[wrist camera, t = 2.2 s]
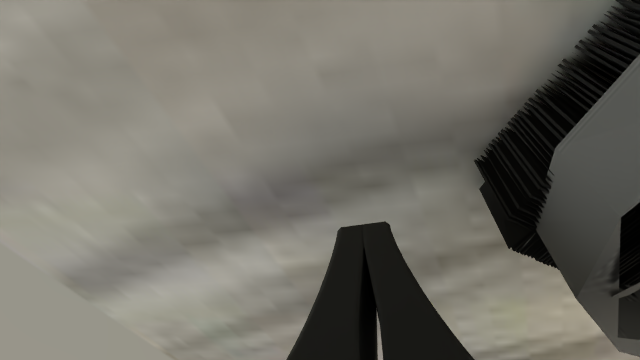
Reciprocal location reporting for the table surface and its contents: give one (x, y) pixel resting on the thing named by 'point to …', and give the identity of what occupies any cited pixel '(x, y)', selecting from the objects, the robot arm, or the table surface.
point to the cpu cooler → (580, 183)
